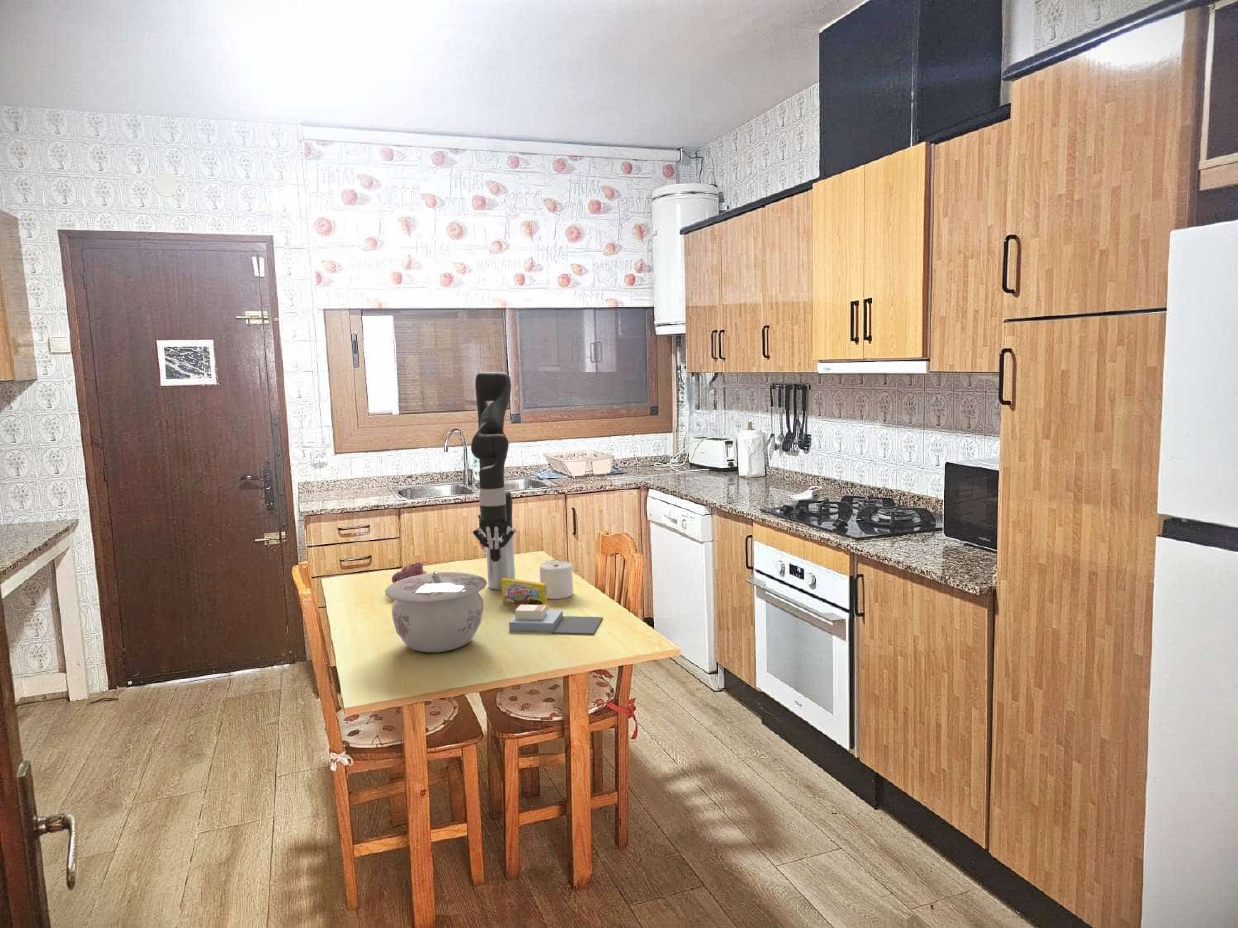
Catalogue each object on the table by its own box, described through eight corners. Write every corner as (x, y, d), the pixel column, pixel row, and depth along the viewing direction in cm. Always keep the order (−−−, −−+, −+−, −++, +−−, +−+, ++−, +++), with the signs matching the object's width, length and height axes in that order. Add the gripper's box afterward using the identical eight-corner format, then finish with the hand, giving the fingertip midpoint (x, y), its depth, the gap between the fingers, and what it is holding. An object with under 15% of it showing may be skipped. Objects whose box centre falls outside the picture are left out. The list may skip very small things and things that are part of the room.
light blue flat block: (521, 617, 244) (520, 609, 244) (562, 618, 242) (562, 610, 242) (509, 630, 232) (508, 622, 232) (553, 631, 230) (553, 623, 230)
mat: (563, 617, 243) (563, 616, 242) (602, 618, 241) (602, 616, 241) (552, 633, 229) (552, 631, 229) (593, 634, 227) (593, 633, 227)
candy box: (501, 604, 258) (500, 579, 257) (505, 602, 260) (504, 577, 259) (544, 610, 251) (543, 584, 249) (548, 608, 252) (547, 582, 251)
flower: (442, 577, 281) (432, 551, 278) (432, 594, 267) (421, 568, 264) (403, 589, 282) (392, 564, 280) (391, 607, 268) (379, 581, 266)
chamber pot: (444, 669, 205) (439, 590, 202) (366, 653, 218) (361, 578, 215) (511, 635, 229) (508, 563, 226) (437, 622, 242) (433, 554, 239)
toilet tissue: (553, 601, 259) (552, 571, 258) (532, 594, 268) (530, 564, 267) (579, 594, 266) (578, 564, 264) (558, 587, 275) (556, 558, 273)
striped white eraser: (520, 612, 240) (520, 604, 240) (546, 613, 239) (546, 604, 239) (515, 618, 235) (515, 610, 235) (542, 619, 234) (541, 610, 233)
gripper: (518, 500, 237) (521, 558, 239) (475, 500, 239) (478, 557, 241) (511, 505, 230) (514, 564, 232) (466, 505, 232) (470, 564, 234)
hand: (495, 560), depth 237 cm, fingers closed
